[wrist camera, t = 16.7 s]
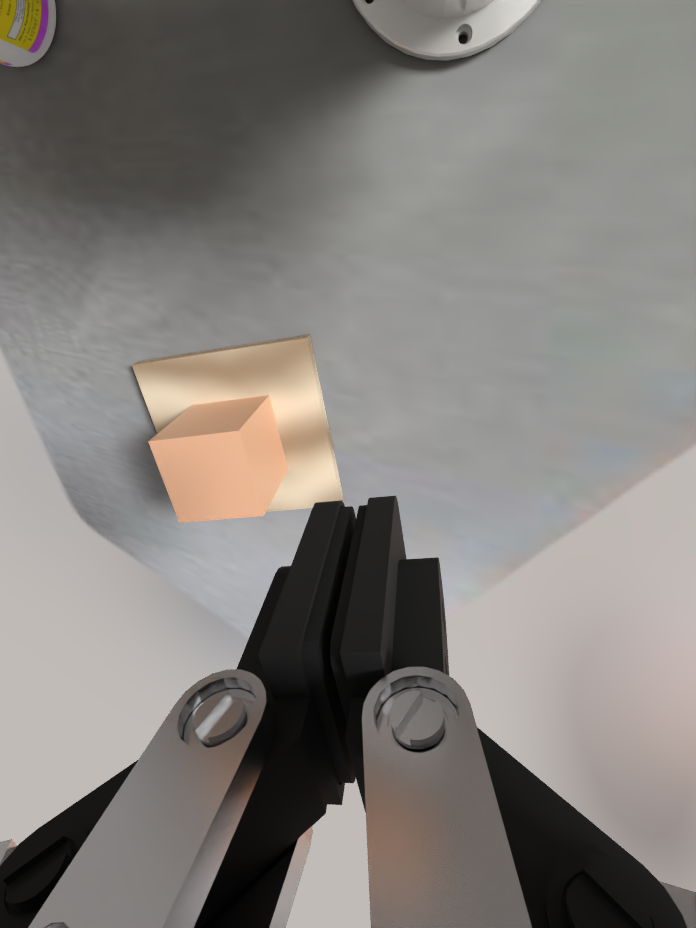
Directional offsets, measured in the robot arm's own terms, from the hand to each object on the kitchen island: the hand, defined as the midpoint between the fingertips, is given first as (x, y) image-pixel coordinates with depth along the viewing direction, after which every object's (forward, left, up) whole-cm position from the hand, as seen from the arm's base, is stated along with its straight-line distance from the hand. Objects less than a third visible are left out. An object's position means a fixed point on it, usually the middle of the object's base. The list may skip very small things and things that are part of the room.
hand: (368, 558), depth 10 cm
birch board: (+7, -14, -27) cm, 31 cm away
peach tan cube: (+7, -14, -26) cm, 30 cm away
